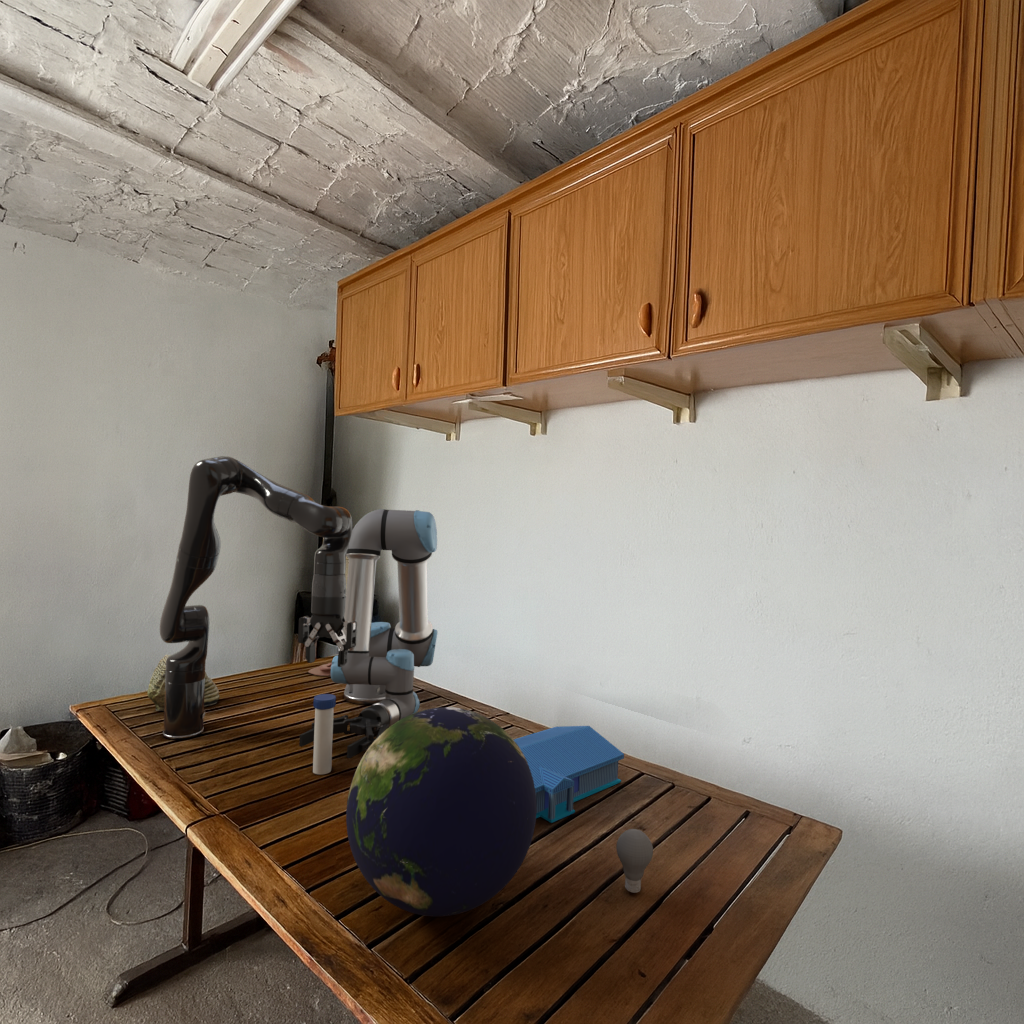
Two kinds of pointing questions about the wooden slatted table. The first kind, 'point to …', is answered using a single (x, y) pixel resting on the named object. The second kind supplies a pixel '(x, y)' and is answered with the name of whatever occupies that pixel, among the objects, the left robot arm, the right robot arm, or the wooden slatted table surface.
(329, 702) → the lid
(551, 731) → the model building
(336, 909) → the wooden slatted table surface
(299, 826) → the wooden slatted table surface
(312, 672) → the anatomical model
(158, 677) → the fossil
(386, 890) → the globe
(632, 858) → the light bulb
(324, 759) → the white tube
